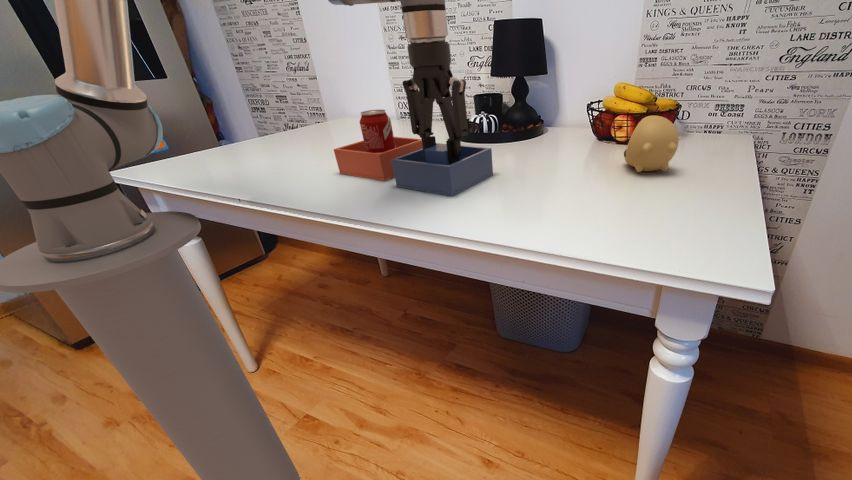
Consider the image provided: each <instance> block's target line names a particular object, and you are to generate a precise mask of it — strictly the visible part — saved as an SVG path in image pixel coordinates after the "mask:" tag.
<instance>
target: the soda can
mask: <svg viewBox="0 0 852 480" xmlns="http://www.w3.org/2000/svg"><path fill="white" fill-rule="evenodd" d="M392 125H393V124H392V119H391V117H390V116H389V115H388V114H387V110H386V109H369V110H363V111H361V112H360V119H359V126H360V131H361V134H362V138H363V140H364V144H365V148H366V152H370V153H378V154H380V153H383V152H386V151H388V150H391V149H394V148H396V146H395V141H394V137H395V136H394V131H393V126H392ZM363 140H362V141H363Z"/></svg>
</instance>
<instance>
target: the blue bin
mask: <svg viewBox="0 0 852 480" xmlns="http://www.w3.org/2000/svg"><path fill="white" fill-rule="evenodd" d="M438 144H443V143H440V142H436V145H438ZM445 144H446V143H445ZM446 145H447V144H446ZM492 151H493V150H492V147H484V146H472V145H462V144H461V152H462V154H461V156H460V161H458V162H455V163H453V164H451V165H440V164H432V163H426V158H425V154H424V151H423V148H422V149H419V150H417V151H414V152H411V153H408V154H406V155H403V156H400V157H397V158H395V159H392V160H391V161H392V166H393V171H394V176H395V177H394V181H395V185H396V187H397V188H401V189H407V190H412V191H413V190H414V191H420V192H424V193H430V194H431V193H432V194H437V195H441V196H449V197H454V196H456V195H457V194H460V193H461V192H463V191H465V190H467V189H469V188H471V187H473V186H474V185H476V184H478V183H480V182H482V181H484V180H486V179H488V178H489V177H491V176H493V175H494V172H493V171H494V167H493V153H492Z"/></svg>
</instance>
